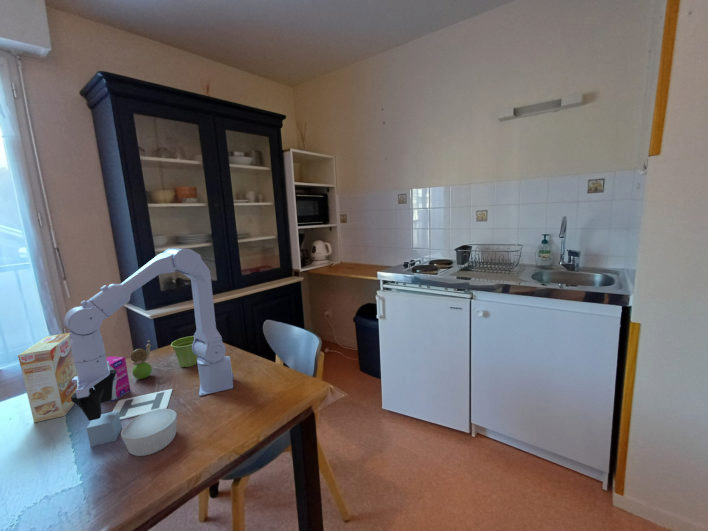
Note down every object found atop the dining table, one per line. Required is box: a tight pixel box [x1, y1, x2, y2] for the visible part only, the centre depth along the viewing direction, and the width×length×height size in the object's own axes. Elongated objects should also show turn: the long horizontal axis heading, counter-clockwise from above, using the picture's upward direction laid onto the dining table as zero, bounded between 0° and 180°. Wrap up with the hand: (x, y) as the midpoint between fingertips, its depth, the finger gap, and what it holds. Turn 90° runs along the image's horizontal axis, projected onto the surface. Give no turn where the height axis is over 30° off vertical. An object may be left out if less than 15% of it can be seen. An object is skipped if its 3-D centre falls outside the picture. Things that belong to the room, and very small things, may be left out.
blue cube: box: [86, 411, 123, 448], centre depth 78 cm, size 5×5×5 cm
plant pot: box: [170, 335, 198, 368], centre depth 116 cm, size 9×9×9 cm
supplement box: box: [106, 355, 132, 402], centre depth 97 cm, size 6×6×12 cm
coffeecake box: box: [17, 332, 77, 423], centre depth 92 cm, size 15×7×20 cm, turn 23°
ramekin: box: [120, 408, 178, 457], centre depth 76 cm, size 11×11×5 cm
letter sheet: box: [111, 388, 173, 421], centre depth 92 cm, size 14×11×1 cm
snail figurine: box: [130, 340, 153, 380], centre depth 107 cm, size 5×6×12 cm
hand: (100, 409), depth 77 cm, fingers open, 7 cm apart
